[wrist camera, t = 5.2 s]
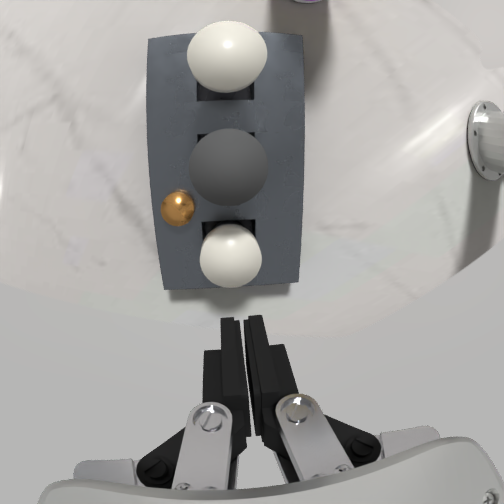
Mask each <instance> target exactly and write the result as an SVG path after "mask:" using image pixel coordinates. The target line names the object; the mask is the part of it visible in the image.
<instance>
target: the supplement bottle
mask: <svg viewBox="0 0 504 504" xmlns="http://www.w3.org/2000/svg"><path fill="white" fill-rule="evenodd" d="M294 1H297V2H302V3H314V2H318V1H321V0H294Z"/></svg>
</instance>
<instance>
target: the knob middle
mask: <svg viewBox="0 0 504 504" xmlns="http://www.w3.org/2000/svg"><path fill="white" fill-rule="evenodd" d="M267 175H268V159H267V155H266V152H265V150H264V148H263V147H262V145H261V144H260V143H259V141H258V140H257V139H256V138H254V137H253V136H252V135H250V134H249V133H246V132H244V131H241V130H238V129H220V130H217V131H214V132H212V133H210V134H208V135H206V136H205V137H204V138H202V139H201V140H200V141H199V142H198V144H197V145H196V146H195V148H194V149H193V151H192V154H191V156H190V160H189V176H190V180H191V182H192V185H193V186H194V188H195V190H196V191H197V192H198V193H199V194H200V195H201V196H202V197H203V198H204V199H206V200H207V201H209V202H211V203H213V204H216V205H220V206H235V205H240V204H242V203H245V202H247V201H249V200H250V199H252V198H253V197H254V196H255V195H257V194H258V192H259V191H260V190H261V189H262V187H263V185H264V183H265V181H266V178H267Z"/></svg>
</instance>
